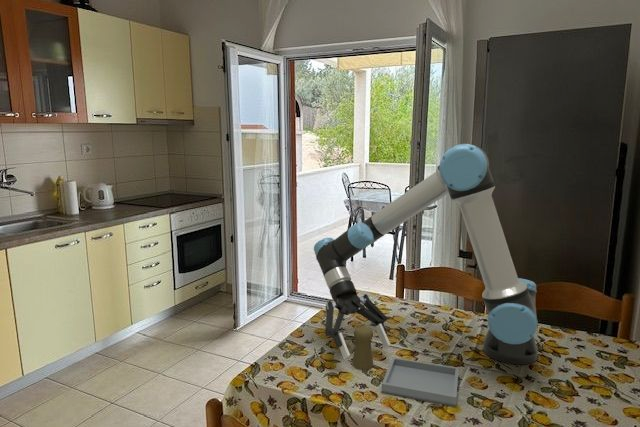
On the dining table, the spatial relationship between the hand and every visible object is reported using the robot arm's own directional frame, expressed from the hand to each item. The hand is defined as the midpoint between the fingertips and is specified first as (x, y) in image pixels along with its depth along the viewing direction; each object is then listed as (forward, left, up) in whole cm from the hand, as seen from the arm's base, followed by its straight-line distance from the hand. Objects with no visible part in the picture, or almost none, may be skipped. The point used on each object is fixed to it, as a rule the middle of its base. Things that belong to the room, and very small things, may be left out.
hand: (367, 351), depth 123 cm
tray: (-15, +3, -5) cm, 16 cm away
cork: (+2, -2, -5) cm, 6 cm away
